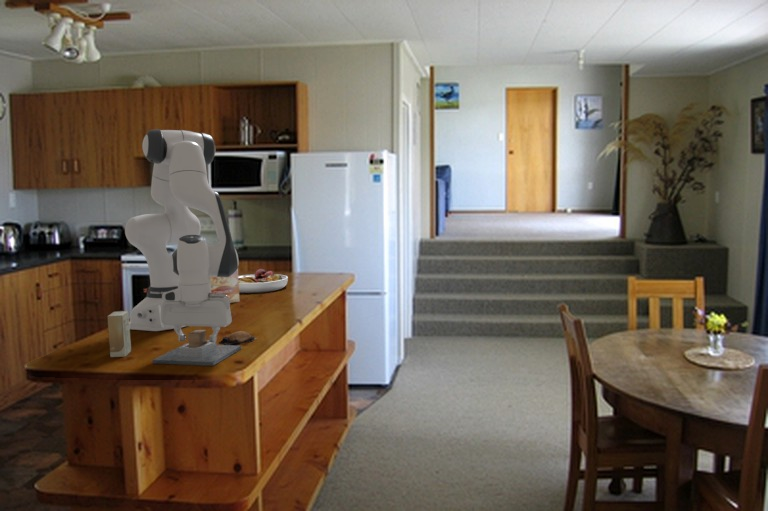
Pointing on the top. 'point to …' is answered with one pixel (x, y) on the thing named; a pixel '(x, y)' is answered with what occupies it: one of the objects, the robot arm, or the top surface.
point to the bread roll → (237, 338)
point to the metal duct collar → (197, 354)
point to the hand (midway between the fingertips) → (197, 341)
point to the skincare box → (119, 334)
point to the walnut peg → (197, 338)
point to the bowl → (261, 282)
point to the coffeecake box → (226, 286)
